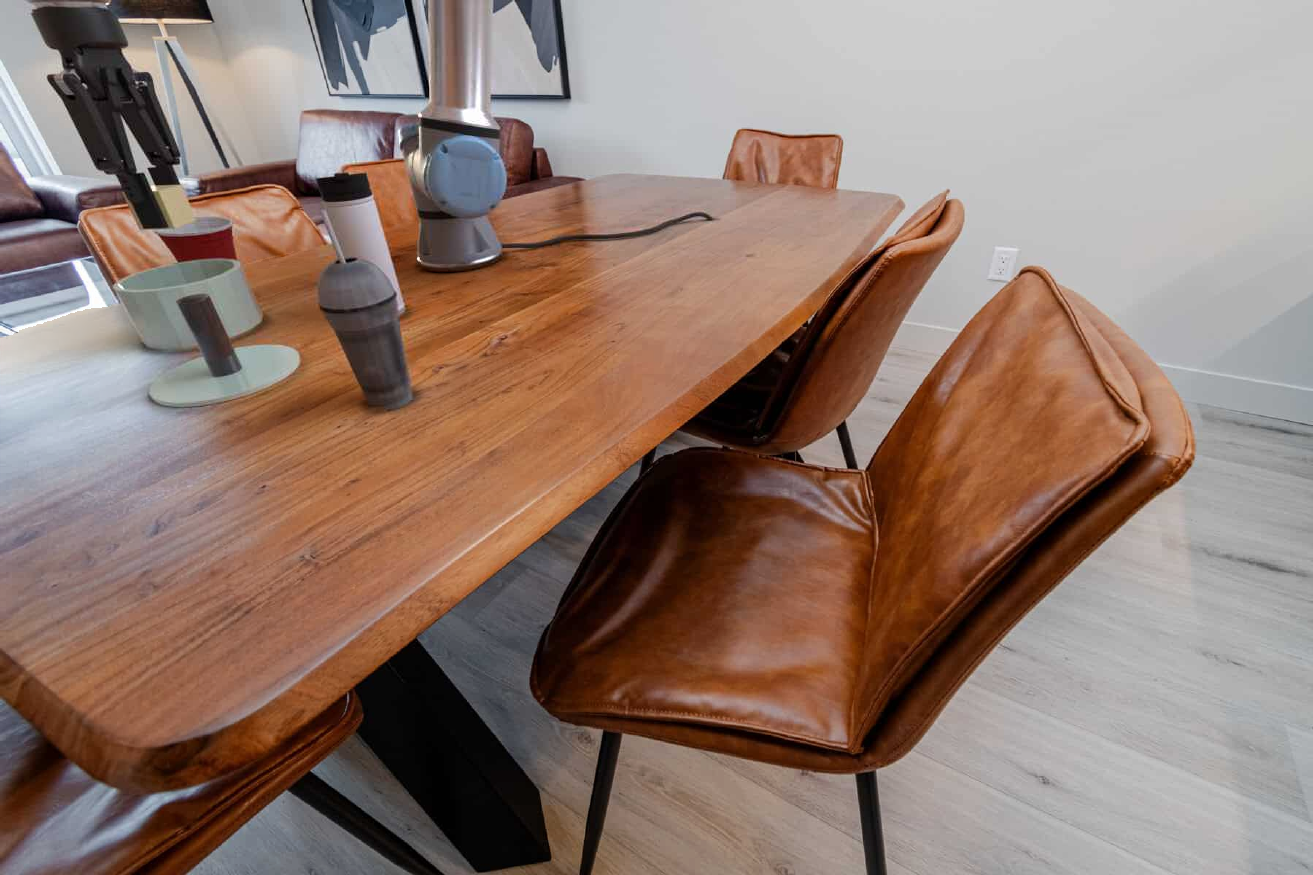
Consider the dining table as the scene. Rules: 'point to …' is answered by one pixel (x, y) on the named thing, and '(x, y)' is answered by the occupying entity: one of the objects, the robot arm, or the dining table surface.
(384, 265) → the travel mug
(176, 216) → the block
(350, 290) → the beverage cup
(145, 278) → the bowl
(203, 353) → the lid
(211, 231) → the plastic cup
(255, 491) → the dining table surface
